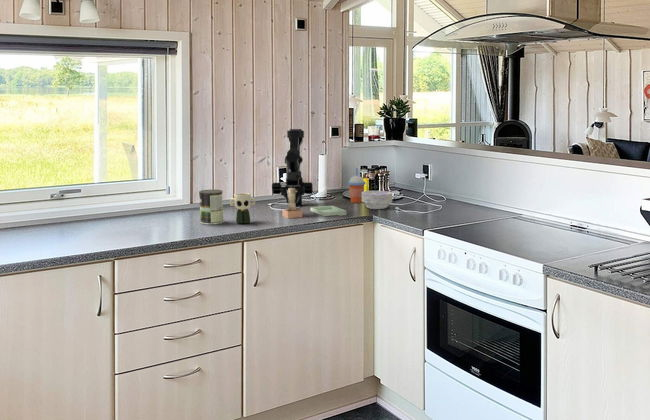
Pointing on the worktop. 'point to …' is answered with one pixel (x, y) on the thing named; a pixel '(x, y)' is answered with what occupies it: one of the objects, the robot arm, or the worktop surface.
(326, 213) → the sage tray
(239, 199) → the character mug
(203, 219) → the coffee can
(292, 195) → the dowel
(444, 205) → the worktop surface
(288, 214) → the peach square box
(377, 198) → the paper bowls
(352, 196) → the cup with straw
